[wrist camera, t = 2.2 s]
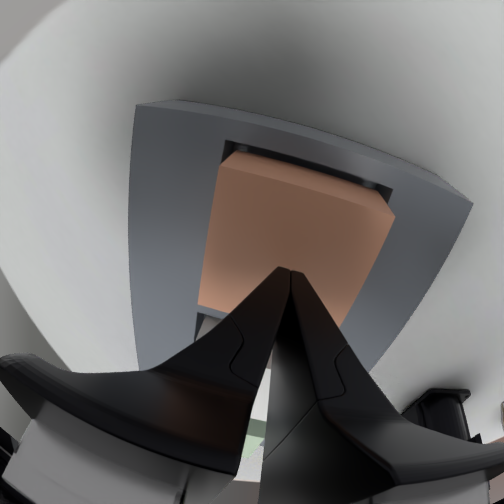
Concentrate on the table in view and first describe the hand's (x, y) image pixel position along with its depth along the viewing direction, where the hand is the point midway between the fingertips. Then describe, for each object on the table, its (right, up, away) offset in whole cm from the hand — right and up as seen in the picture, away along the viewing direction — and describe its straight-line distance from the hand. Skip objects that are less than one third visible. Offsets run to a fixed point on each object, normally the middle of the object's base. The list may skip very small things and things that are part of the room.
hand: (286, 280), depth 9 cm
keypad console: (-1, -4, +10) cm, 11 cm away
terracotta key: (0, +2, +3) cm, 3 cm away
